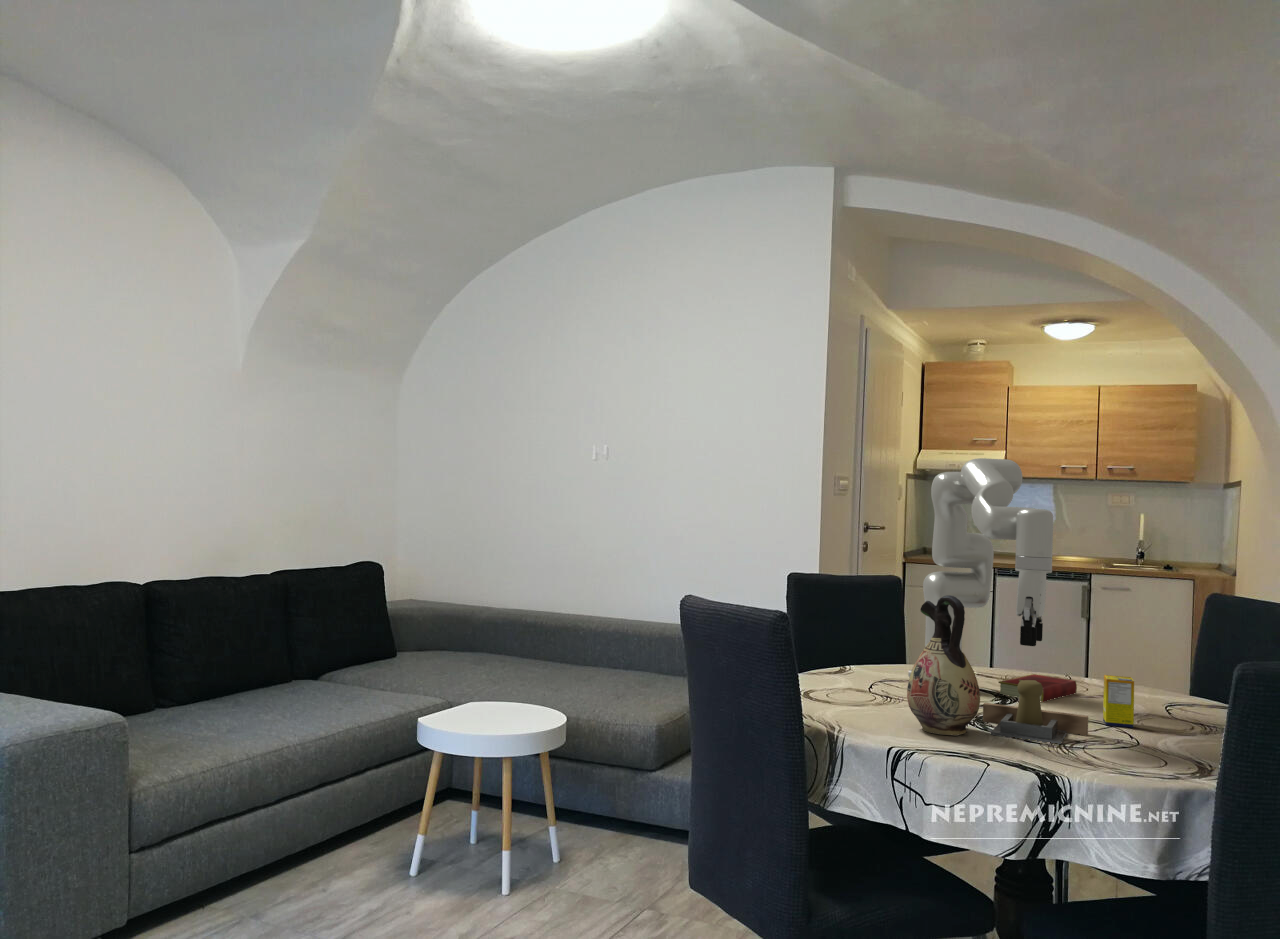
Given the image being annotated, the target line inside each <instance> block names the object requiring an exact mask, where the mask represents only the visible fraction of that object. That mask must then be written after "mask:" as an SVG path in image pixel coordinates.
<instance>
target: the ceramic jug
mask: <svg viewBox="0 0 1280 939" xmlns="http://www.w3.org/2000/svg"><path fill="white" fill-rule="evenodd" d="M949 605H950V606H951V607H952V608H953V612H954V620H953V626H952V633H951V629H950V625H951V623H952V618H951V616H950V614H949V611H948V606H949ZM920 612H921V614H923V615H924V616H925V617H926V616H928V617H930V618H931V619H932V620H933V621H934V622H935V632H934V635H933V637H932V638H931V640H930V642H929V643H928V644H927V646H926V647H925V646H924V648H923V650H922V651H921V653H920V655H919V656H918V658H917V659H916V661H915V663H914V665H913V667H912V668H911V670H912V672H911V674H910V677H909V676H908V677H909V678H908V682H907V683H908V684H907V687H906V697H907V698H906V699H907V703H908V707H909V710H910V711H911V712H912V714H913V715H914V717H915V718H916V719H917V720H918V723H919V725H920V726H921V729H922V731H924V732H925V733H926V732H927V733H928V734H929V733H930V734H935V735H941V736H942V735H943V736H955V737H956V736H961V735H963V734H966V733H967V726H968V725H969V724H970V723H971V722H972V721H973V720H974V719H975V717H976V715H978V713H979V710H980V704H981V692H980V688H979V687H980V686H979V682H978V679H977V676H976V674H975V670H974V668H973V667H972V665H971V663H970V662H969V660H968V658H967V657H966V654H965V653H964V652H963V651H961V650H960V640H961V637H962V638H963V631H964V625H965V620H966V618H965V614H966V612H965V607H964V606H963V604H962V603H961V601H960V600H959V599H957V598H956V597H954V596H951V595H947V596H943V597H942V598H940V599H939V600H938V602H937V605H936V606H935V605H934V604H933V603H932V602H930V601H926V602H925V601H924V603H923V604H922V605H921V607H920Z"/></svg>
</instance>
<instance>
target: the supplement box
mask: <svg viewBox="0 0 1280 939" xmlns="http://www.w3.org/2000/svg"><path fill="white" fill-rule="evenodd" d="M1102 697H1103V704H1102V705H1103V707H1102V708H1103V709H1102V713H1103V714H1102V721H1103V723H1104V724H1106V725H1105V726H1108V725H1109V726H1112V727H1123V728H1130V729H1133V728H1134V726H1135V725H1134V724H1135V680H1134V679H1133V678H1132V676H1123V675H1122V676H1121V675H1119V676H1118V675H1112V674H1111V675H1110V674H1109V675H1108V674H1104V675H1103V696H1102Z"/></svg>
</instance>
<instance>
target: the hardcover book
mask: <svg viewBox="0 0 1280 939" xmlns="http://www.w3.org/2000/svg"><path fill="white" fill-rule="evenodd" d="M1023 680H1032V681H1036V682H1039V683H1040V684H1041V685H1042V687H1043V692H1042V695H1041V696H1040V701H1046V702H1048V701H1047V700H1050V699H1053V700H1055V699H1054V698H1057V699H1059V698H1058V697H1061V698H1063V697H1062V696H1065V697H1067V696H1066V695H1069V696H1071V695H1070V694H1073V695H1075V694H1074V693H1076V694H1077V690H1078V685H1077V681H1076V680H1074V679H1067V678H1062V677H1056V676H1049V675H1042V674H1037V673H1036V674H1035V673H1032V674H1028V675H1023V676H1018V677H1013V678H1009V679H1004V680H1000V681H998V684H1000V689H999V690H1000V691H999V692H1000V693H999V695H1000V694H1004V695H1009V696H1008V697H1010V696H1017V697H1020V694H1019V693H1018V689H1017V687H1018V683H1019V682H1020V681H1023ZM1004 695H1003V696H1004ZM1050 701H1051V700H1050Z"/></svg>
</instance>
